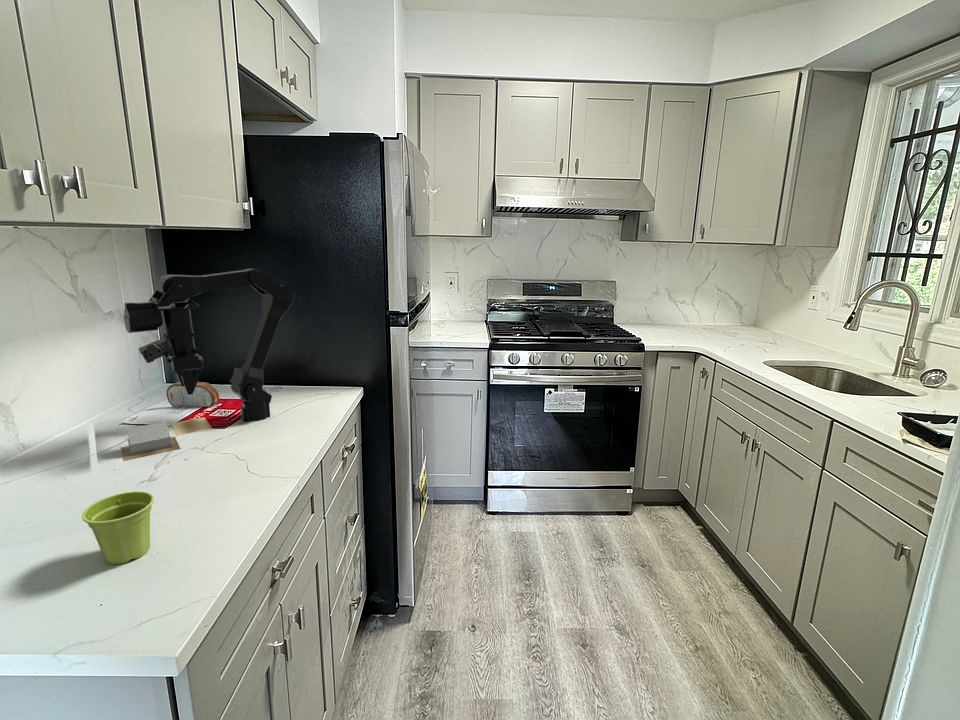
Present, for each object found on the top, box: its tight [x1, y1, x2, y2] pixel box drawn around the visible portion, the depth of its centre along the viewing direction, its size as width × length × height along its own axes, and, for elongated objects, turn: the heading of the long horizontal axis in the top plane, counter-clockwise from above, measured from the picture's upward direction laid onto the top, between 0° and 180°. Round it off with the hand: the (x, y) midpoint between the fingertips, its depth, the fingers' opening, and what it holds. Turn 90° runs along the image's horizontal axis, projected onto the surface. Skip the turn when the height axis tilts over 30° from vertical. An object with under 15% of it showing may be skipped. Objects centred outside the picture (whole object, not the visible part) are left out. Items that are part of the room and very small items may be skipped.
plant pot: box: [81, 490, 155, 565], centre depth 80 cm, size 9×9×9 cm
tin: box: [166, 380, 220, 408], centre depth 146 cm, size 15×3×8 cm, turn 84°
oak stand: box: [170, 416, 213, 436], centre depth 130 cm, size 8×10×2 cm
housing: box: [126, 421, 172, 456], centre depth 116 cm, size 5×8×5 cm, turn 129°
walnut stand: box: [120, 436, 182, 462], centre depth 117 cm, size 11×9×2 cm
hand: (187, 389), depth 123 cm, fingers open, 9 cm apart
